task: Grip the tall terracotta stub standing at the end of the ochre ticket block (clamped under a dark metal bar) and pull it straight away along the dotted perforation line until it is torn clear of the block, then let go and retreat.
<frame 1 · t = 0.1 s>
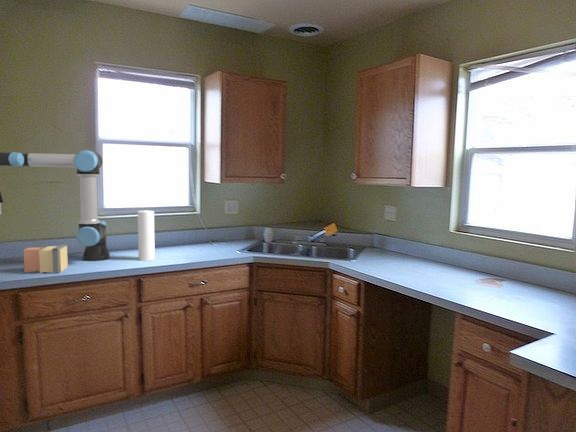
cylinder container: (146, 259, 253), on the worktop
ticket block: (54, 270, 222), on the worktop
stub: (34, 259, 220), point 6 cm above the worktop, slide at 0.0 cm
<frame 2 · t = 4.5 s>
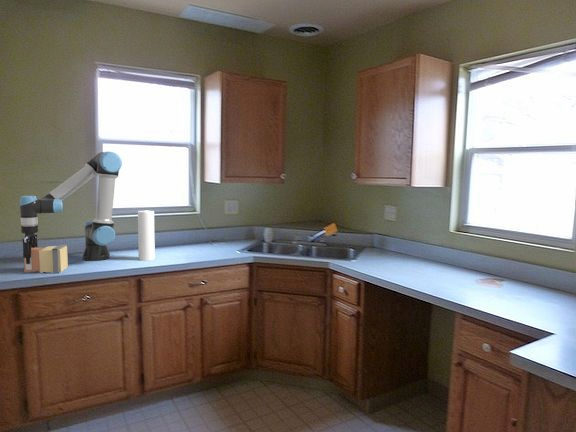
hand: (31, 268, 220), 1 cm above the worktop, fingers closed on stub, 6 cm apart
stub: (34, 259, 220), point 6 cm above the worktop, slide at 0.0 cm, touching gripper
everything else where it was.
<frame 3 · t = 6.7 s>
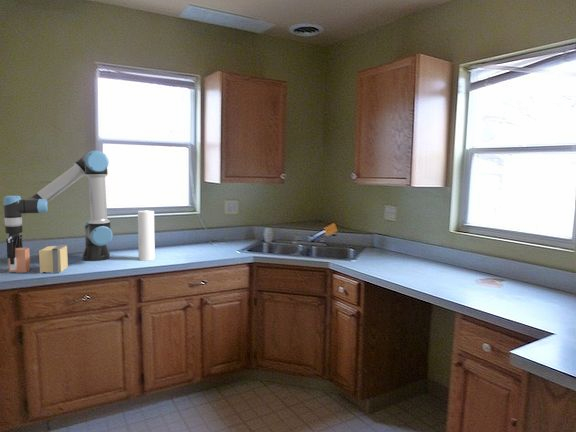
hand: (16, 268, 218), 1 cm above the worktop, fingers closed on stub, 6 cm apart
stub: (19, 259, 218), point 6 cm above the worktop, slide at 7.4 cm, touching gripper
everything else where it was.
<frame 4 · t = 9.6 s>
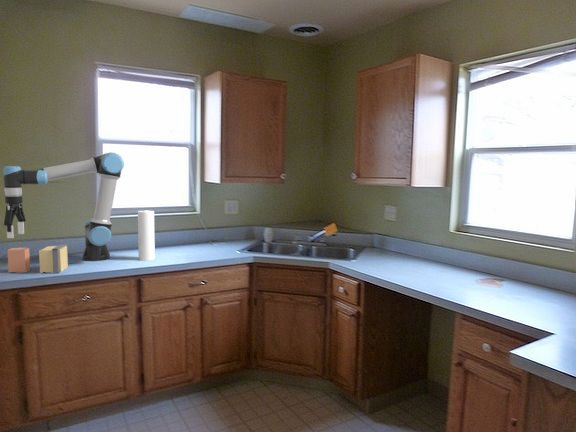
hand: (16, 235, 218), 19 cm above the worktop, fingers open, 13 cm apart
stub: (19, 259, 218), point 6 cm above the worktop, slide at 7.5 cm
everything else where it was.
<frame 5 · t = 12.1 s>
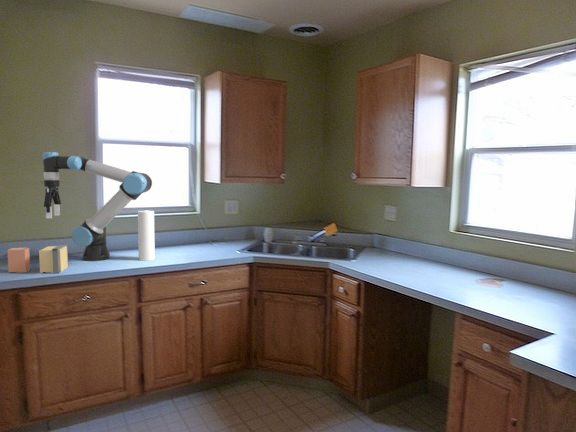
hand: (53, 217, 236), 27 cm above the worktop, fingers open, 13 cm apart
nothing on the worktop moved.
at the end: stub slide at 7.5 cm; the gripper is holding nothing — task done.
